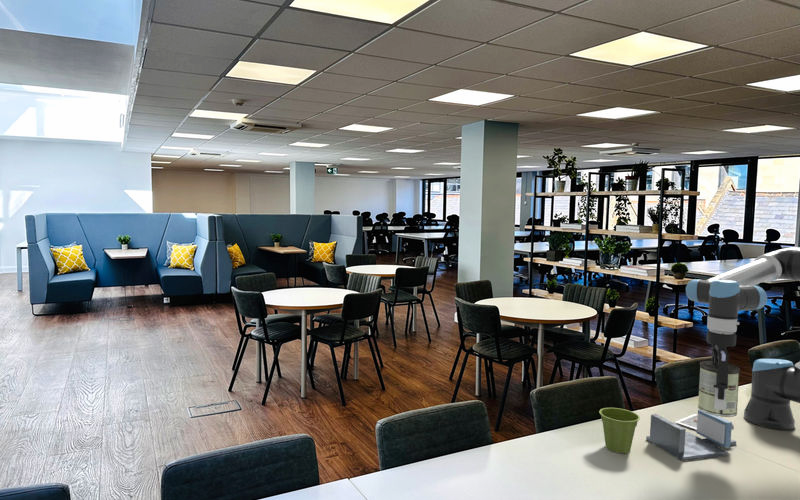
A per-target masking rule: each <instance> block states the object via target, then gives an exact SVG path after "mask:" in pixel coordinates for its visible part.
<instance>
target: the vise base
mask: <svg viewBox="0 0 800 500" xmlns="http://www.w3.org/2000/svg"><path fill="white" fill-rule="evenodd" d="M649 427H650V429H649V435H647V436H645V438H646V439H645V440H646V441H648V442H649V443H651V444H652V445H654V446H655V447H657V448H659V449H661V450H663V451H665V453H668V454H670V455H672V456H673V457H674V456H675V458H676V457H677V458H676V459H678V460H680V461H682V462H685V461H686V460H687V461H694V460H703V459H709V458H710V459H711V458H718V457H725V456H728V451H726V450H724V449H722V448H721V447H723V446H721V445H719V444H717V443H715V442H713V441H711V440H709V439H707V438H705V437H704V438H701V437H699V436H697V435H695V434H694V433H691V432H688V431H686V428H685V427H683V426H680V424H678V423H676V422H673V421H671V420H669V419H667V418H665V417H663V416H660V415H658V414H657V413H655V414H652V413H651V414H650V426H649ZM731 446H737V441H736V440H735V439H733V438H731V444H730V447H731Z"/></svg>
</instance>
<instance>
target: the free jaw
mask: <svg viewBox="0 0 800 500" xmlns="http://www.w3.org/2000/svg"><path fill="white" fill-rule="evenodd" d="M697 414H698V416H697V430H696V434H697V435H699V436H701V437H704V438H707V439H709V440H711V441H713V442H715V443H717V444H719V445H721V446H722V447H723V448H731V446H730V444H731V439H732V431H733V430H734V429H735V426H734V425H735V424H733V422H732V421H730V420H728V419H725V418H724V417H721V416H715V415H711V414H708V413H705V412H703V411H701V410H699V409H697Z"/></svg>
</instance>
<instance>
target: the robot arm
mask: <svg viewBox="0 0 800 500" xmlns="http://www.w3.org/2000/svg"><path fill="white" fill-rule="evenodd" d="M777 280H788V281H789V280H791V281H799V282H800V246H794V247H793V246H791V247H785V248H784V247H783V248H781V249H776V250H773V251H769V252H766V253H764V254H762V255H759V256H757V257H756V258H755V259H754V261H750V262H749V263H745V264H744V265H741V266H738V267H736V268H733V269H731V270H729V271H725V272H722V273H721V274H718V275H715V276H712V277H710V278H708V279H700V278H699V279H698V278H697V279H696V278H695V279H691V280H690V281H689V282H688V283H687V284H686V286H685V295H686V298H687V299H688V300H690V301H692V302H696V303H699V304H707V305H708V313H707V314H708V315H707V323H706V324H707V325H706V328H707V329H708V330H707V331H706V342H707V344H710V345H712V348H711V361H713V363H714V364H715V365H716V369H718V373H717V377H716V385H714V386H713V387H714V388H715V400H714V409H718V410H724V411H725V404H726V389H728V363H729V358H730V353H729V351H728V350H727V348H729V347H730V348H731V347H732V348H733V347H736V345H737V334H736V332H737V330H738V326H739V325H740V322H739V321H738V319H739V318H738V317H739V316H738V314H739V312H742V311H743V312H744V311H756V310H760V309H762V308H764V307H765V305H766V304H767V303H768V295H767V293H766V291H765V290H764V289H763V288H762V287H760V286H758V285H759V284H760V283H761V284H762V283H764V282H773V281H777ZM751 371H752V374H751V375H752V376H751V377H752V378H751V388H750V389H751V390H750V398H749V400H748V402H747V405H746V406H745V409H744V411H743V417H744V419H745V420H746V421H748V422H750V423H752V424H754V425H758V426H761V427H764V428H768V429H773V430H779V431H787V430H788V431H790V430H793V429H794V428H795V427H796V426H795V424H796V423H795V422H796V421H795V418H794V415H793V411H792V407H791V402H795V403H798V404H800V361H799V362H796V363H795V364H794V362H792V361H790V360H787V359H781V358H780V359H778V358H759V359H756V360H754V362H753V366H752V369H751ZM720 383H724V384H720Z"/></svg>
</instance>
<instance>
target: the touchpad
mask: <svg viewBox="0 0 800 500" xmlns="http://www.w3.org/2000/svg"><path fill="white" fill-rule="evenodd" d="M697 416H698V413H694V414H691V415H689V416H686V417H684V418H681V419H678V420H676V421H675V424H678V425H683V426H685V427H687V428H691V429H694V430H695V431H697Z"/></svg>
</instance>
